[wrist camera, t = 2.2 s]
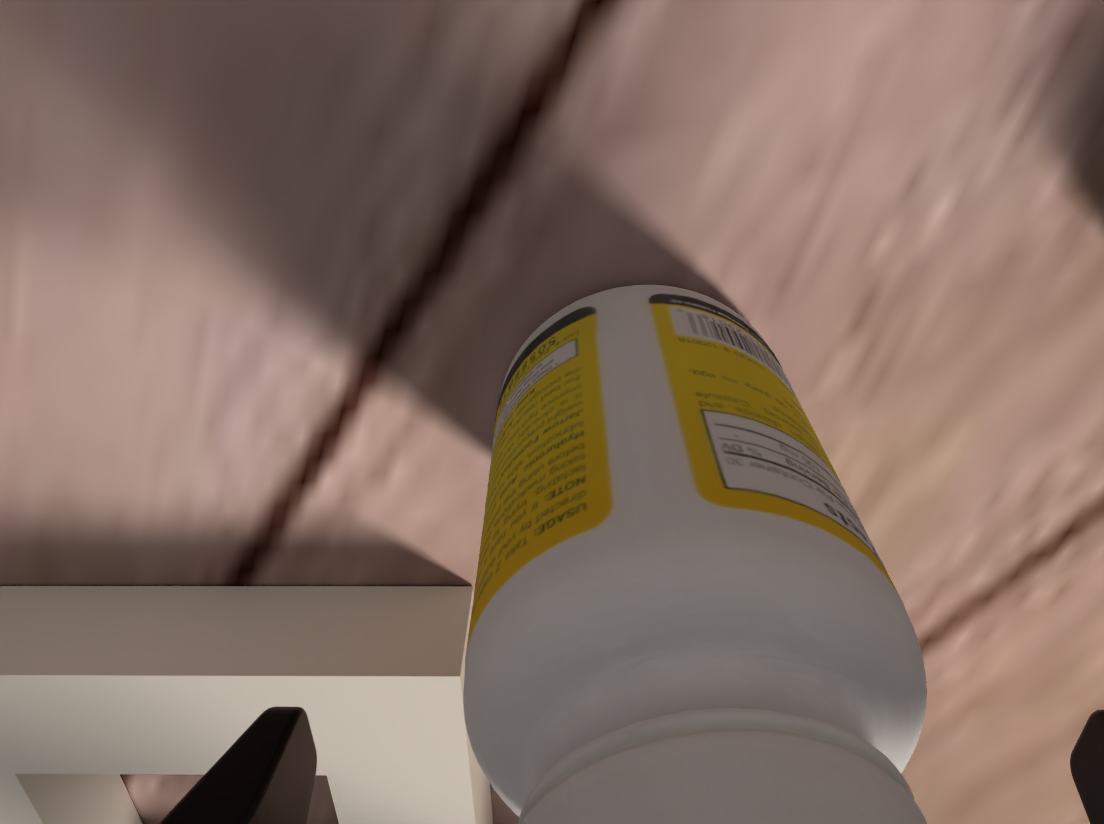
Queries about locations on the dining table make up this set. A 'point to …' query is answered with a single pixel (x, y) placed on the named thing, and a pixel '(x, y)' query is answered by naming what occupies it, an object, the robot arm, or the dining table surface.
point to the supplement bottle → (679, 588)
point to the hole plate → (235, 694)
